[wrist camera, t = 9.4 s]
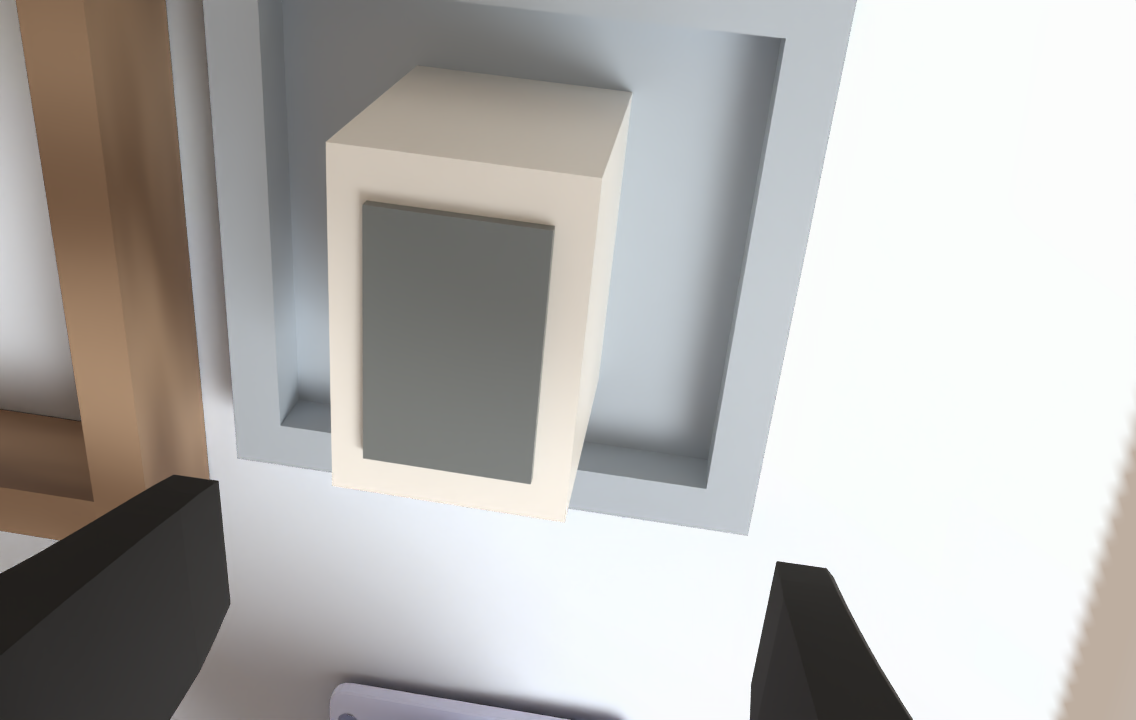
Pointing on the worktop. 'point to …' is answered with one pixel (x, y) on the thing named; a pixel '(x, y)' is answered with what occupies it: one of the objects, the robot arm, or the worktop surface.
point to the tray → (644, 227)
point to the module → (471, 286)
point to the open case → (108, 269)
